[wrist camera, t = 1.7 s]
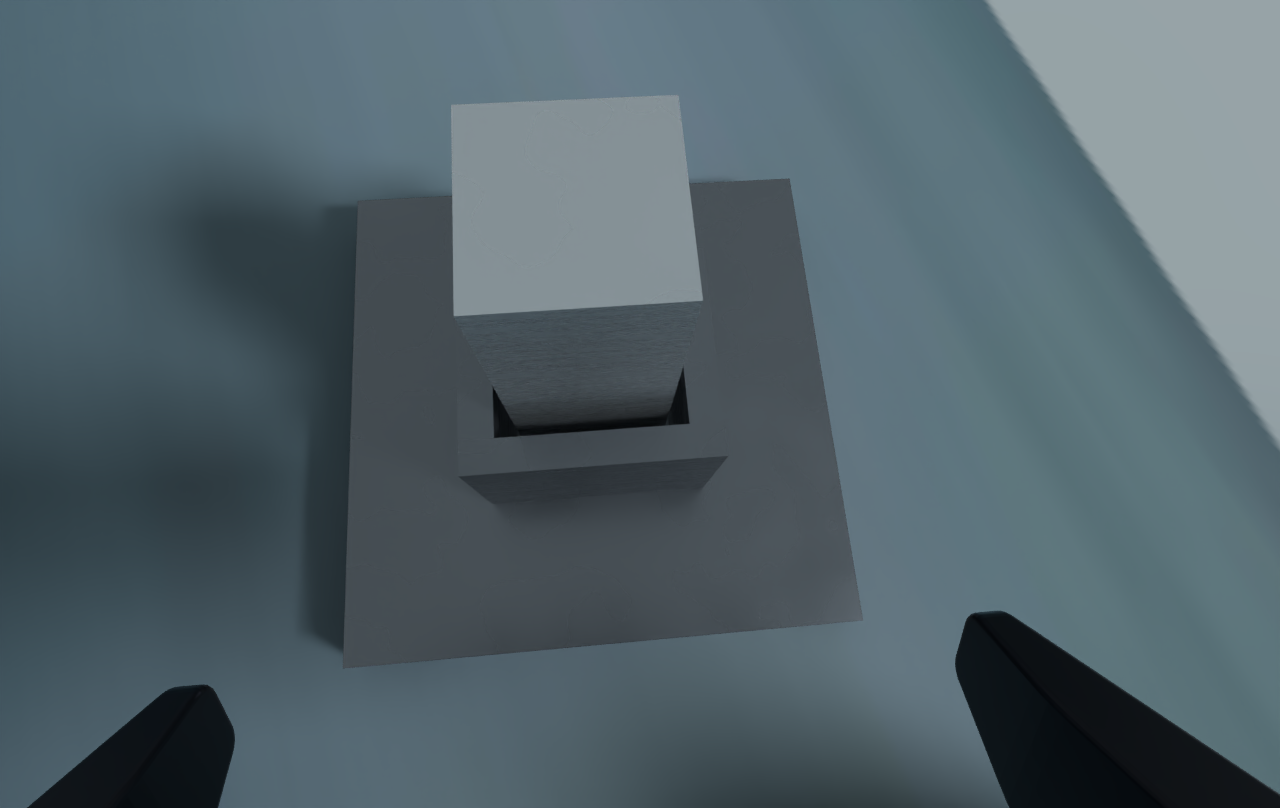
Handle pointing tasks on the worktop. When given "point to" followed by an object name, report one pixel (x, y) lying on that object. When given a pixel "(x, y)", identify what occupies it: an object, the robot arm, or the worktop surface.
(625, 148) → the block
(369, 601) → the stand
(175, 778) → the robot arm
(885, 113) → the worktop surface
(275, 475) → the worktop surface
